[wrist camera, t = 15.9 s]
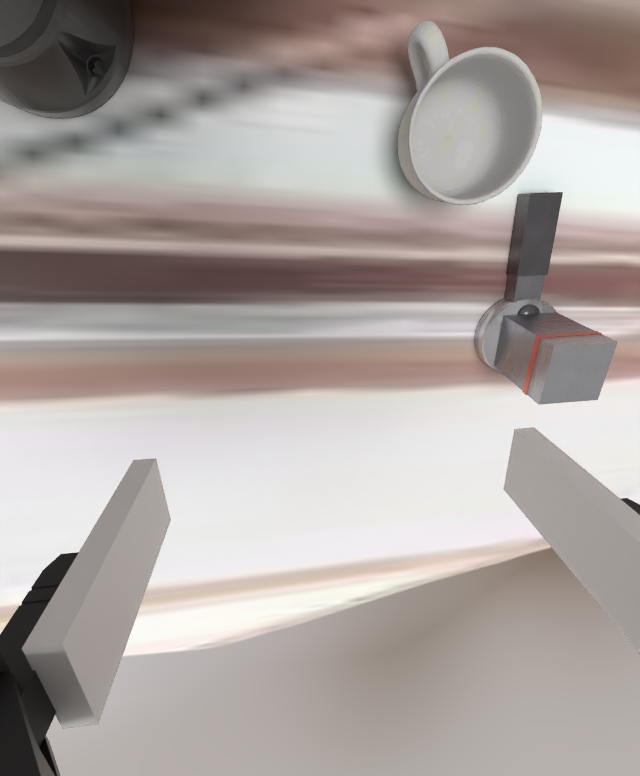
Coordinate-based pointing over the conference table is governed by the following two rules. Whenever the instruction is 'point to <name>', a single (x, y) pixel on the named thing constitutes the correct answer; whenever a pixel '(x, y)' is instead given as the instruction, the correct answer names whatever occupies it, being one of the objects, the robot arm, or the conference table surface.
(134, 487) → the robot arm
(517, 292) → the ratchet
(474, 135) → the teacup
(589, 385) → the red-striped grey block
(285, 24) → the conference table surface
